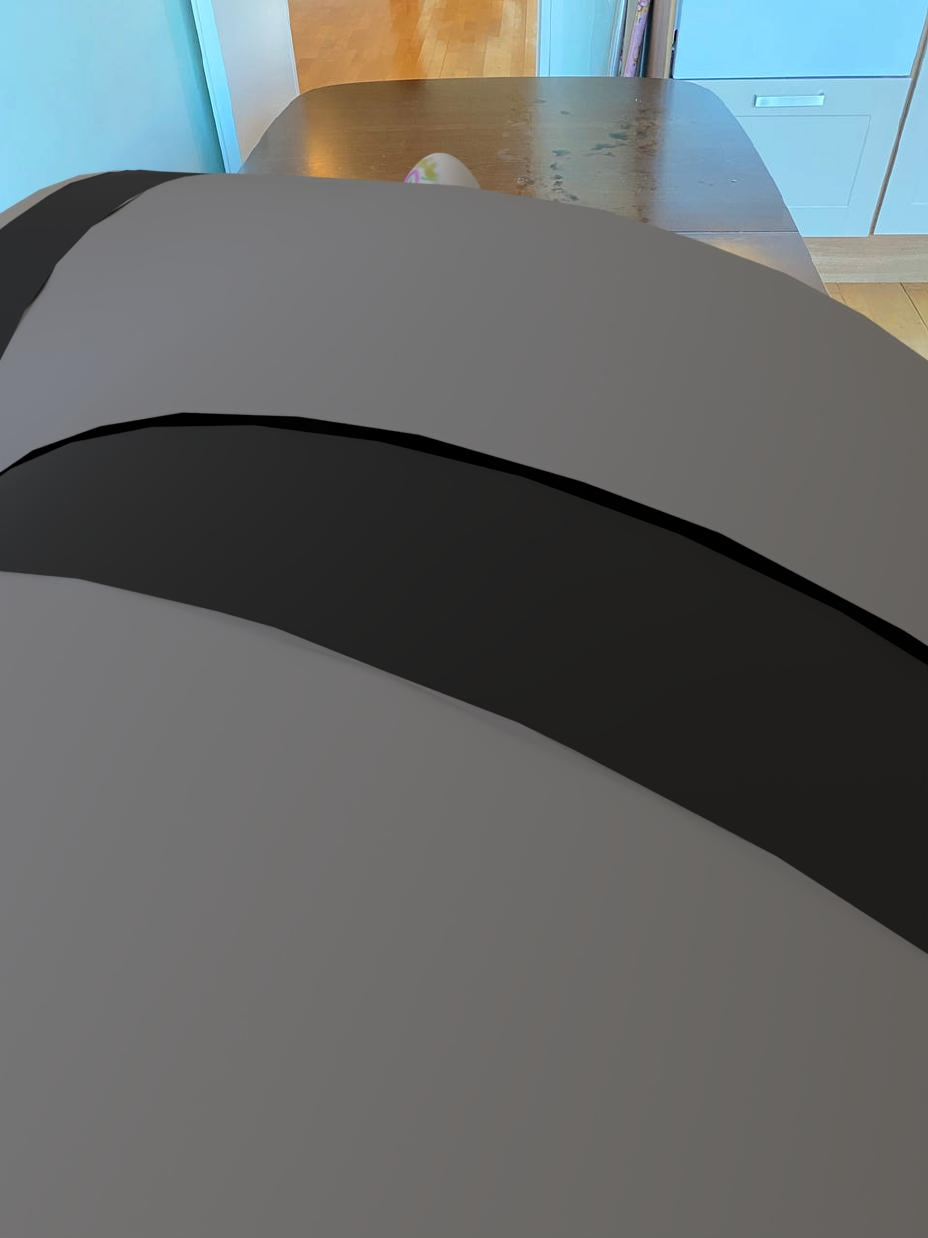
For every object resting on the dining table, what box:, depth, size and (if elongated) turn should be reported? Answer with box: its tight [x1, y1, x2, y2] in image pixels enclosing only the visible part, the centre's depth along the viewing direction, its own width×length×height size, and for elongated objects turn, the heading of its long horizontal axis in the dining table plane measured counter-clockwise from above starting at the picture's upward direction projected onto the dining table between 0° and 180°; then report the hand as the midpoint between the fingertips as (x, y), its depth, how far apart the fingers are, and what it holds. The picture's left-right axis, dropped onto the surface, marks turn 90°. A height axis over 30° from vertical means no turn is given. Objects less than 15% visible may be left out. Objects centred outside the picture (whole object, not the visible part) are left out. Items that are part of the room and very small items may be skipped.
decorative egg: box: [403, 152, 482, 189], centre depth 118 cm, size 12×12×15 cm
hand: (258, 529), depth 35 cm, fingers closed
